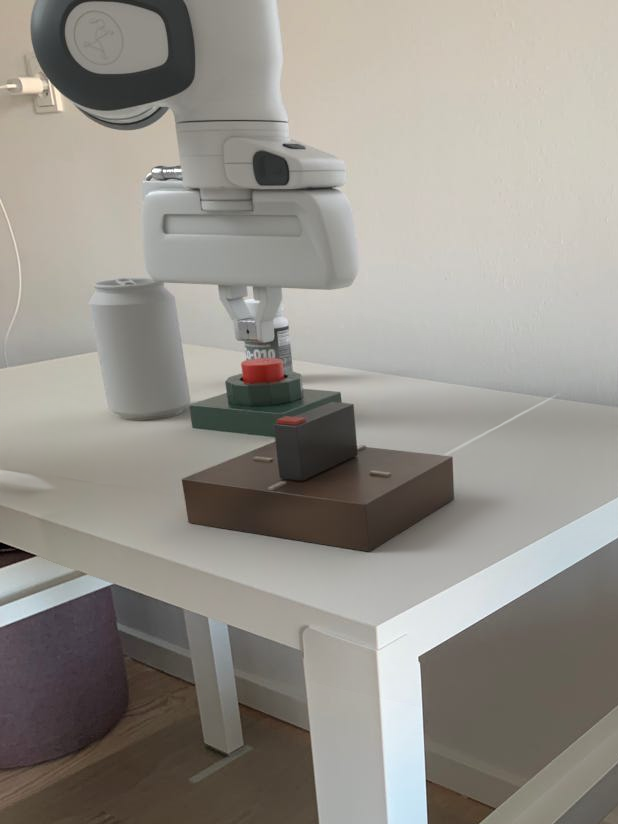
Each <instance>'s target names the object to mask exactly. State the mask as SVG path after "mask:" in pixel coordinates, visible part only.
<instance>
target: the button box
mask: <svg viewBox="0 0 618 824" xmlns="http://www.w3.org/2000/svg"><path fill="white" fill-rule="evenodd" d="M284 378H285V379H282V380H279V381H272V382H258V383H251V382H243V375H242V373H238V374H234V375H231V376H228V377H227V378H226V380H225V381H224V382H225V390H226V392H224V393H221V394H218V395H215V396H212V397H209V398H206V399H202V400H199V401H197V402H193V403H189V404H188V408H189V413H190V420H191V421H190V422H191V426H192V427H191V428H192V429H195V430H196V429H197V430H205V431H213V432H223V433H231V434H232V433H233V434H239V435H240V434H241V435H243V434H244V435H249V436H250V435H251V436H260V437H268V438H275V434H274V426H273V425H274V424H275V423H277V419H280V418H282V417H285V416H290V417H293V416H296V415H299V414H301V413H304V412H307V411H309V410H312V409H315V408H317V407H320V406H322V405H325V404H328V403H330V402H337V403H343V402H342V392H341V391H333V390H324V389H323V390H320V389H310V388H304V386H303V385H304V384H303V376H302V374H301V373H299V372H296V371H294V370H293V371H284Z"/></svg>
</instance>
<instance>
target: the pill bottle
mask: <svg viewBox="0 0 618 824" xmlns="http://www.w3.org/2000/svg"><path fill="white" fill-rule="evenodd" d="M244 301H245V303H246V305H247V307H248V309H249V311H250V314H251V316H252V318H255V316H256V312H257V309H258V306H259V302H260V300H259V301H256V300H254V297H253V298H248V299H244ZM284 311H285V306H284V298H282V301H281V303H280V306H279V308H278V311H277V313H276V316H275V318H274V319H273V325H274V336H275V337H274V340H273V341H270V342H266V343H262V342H250V341H243V343H244V351H245V360H249V359H256V358H278V359H281V360H282V361H283V369H284V371H293V372H294V366H293V356H292V347H291V346H292V345H291V336H290V335H291V334H290V326H289V321H288V319H287V318H286V317H285V316H283V314H284Z"/></svg>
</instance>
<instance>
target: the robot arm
mask: <svg viewBox="0 0 618 824" xmlns="http://www.w3.org/2000/svg"><path fill="white" fill-rule="evenodd" d="M31 10H32V11H31V16H30V25H29V26H30V40H31V45H32V50H33V53H34V56H35V58H36V61H37V63H38V66H39V67H40V69H41V70H42V72H43V74H44V75H45V77H46V78H47V80H48V81H49V82H50V83H51V85H53V87H54V88H55V89H56V90H57V91H58V92H59V93H60V94H61V95H62V96H63V97H64V98H66V99H67V100H68V101H69V102H70V103H72V104H73V105H74V106H75V107H76V109H77V110H79V111H80V112H81V113H82V114H83V115H84V116H85V117H86V118H88V119H89V120H91V121H93V122H94V123H97V124H98V125H100V126H103V127H105V128H108V129H112V130H117V131H136V130H140V129H144V128H147V127H149V126H151V125H152V124H154V123H156V122H157V121H159V120H160V119H161V118H162V117H163V116H164V115H166V113H167V112H168V111H169V109H170V110H171V112H172V113H173V117H174V123H175V132H176V140H177V148H178V155H179V156H178V157H179V163H180V164H179V165H175V166H167V165H156V166H154V167H152V168H151V170H150V172H148V174H147V175H146V176H145V177H144V179H143V181H142V182H141V195H142V196H141V197H142V208H141V237H142V238H141V239H142V254H143V262H144V264H143V265H144V269H145V270H146V272H147V274H148V275H149V278H152V279H153V281H155V282H164V284H166V283H168V284H188V285H209V286H211V285H212V286H217V287H218V289H217V290H218V297H219V301H220V303H221V304H222V305H223V308H224V309H225V310H226V312H227V314H228V316H229V317H230V319H231V320H232V321H233V322H232V323H233V329H234V337H235V339H236V340H237V341H239V342H244V341H250V342H262V343H266V342H270V341H273V340H274V337H275V336H274V325H273V319H274V318H275V316H276V313H277V311H278V308H279V306H280V303H281V301H282V299H283V290H282V289H300V290H324V291H333V290H340V289H344V288H349V287H351V286H352V285H353V283H354V282H355V280H356V278H357V276H358V273H359V249H358V239H357V231H356V224H355V217H354V212H353V208H352V206H351V203H350V201H349V198H348V197H347V196H346V194H345V193H344V192H343V191H341V190H340V189H337V188H341V187H343V186H344V185H345V184H346V181H347V165H346V163H345V161H344V159H342V158H341V157H339V156H337V155H335V154H331V153H329V152H326V151H324V150H322V149H319V148H315V147H314V146H310V145H308V144H306V143H303V142H301V141H299V140H296V139H293V138H291V135H290V123H289V116H288V112H287V109H286V107H285V104H284V101H283V95H282V88H281V84H282V83H281V80H282V73H283V72H282V71H283V66H284V53H283V41H282V29H281V22H280V15H279V8H278V1H277V0H34V4H33V7H32V9H31ZM152 179H154V180H152ZM248 287H252V294H253V295H252V296H253V298H254V300H256V301H259V300H260V302H259V306H258V309H257V312H256V316H255V318H252V316H251V314H250V311H249V309H248V307H247V305H246V303H245V299H244V298H247V297H248V296H249V294H248V293H249V292H248Z"/></svg>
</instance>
